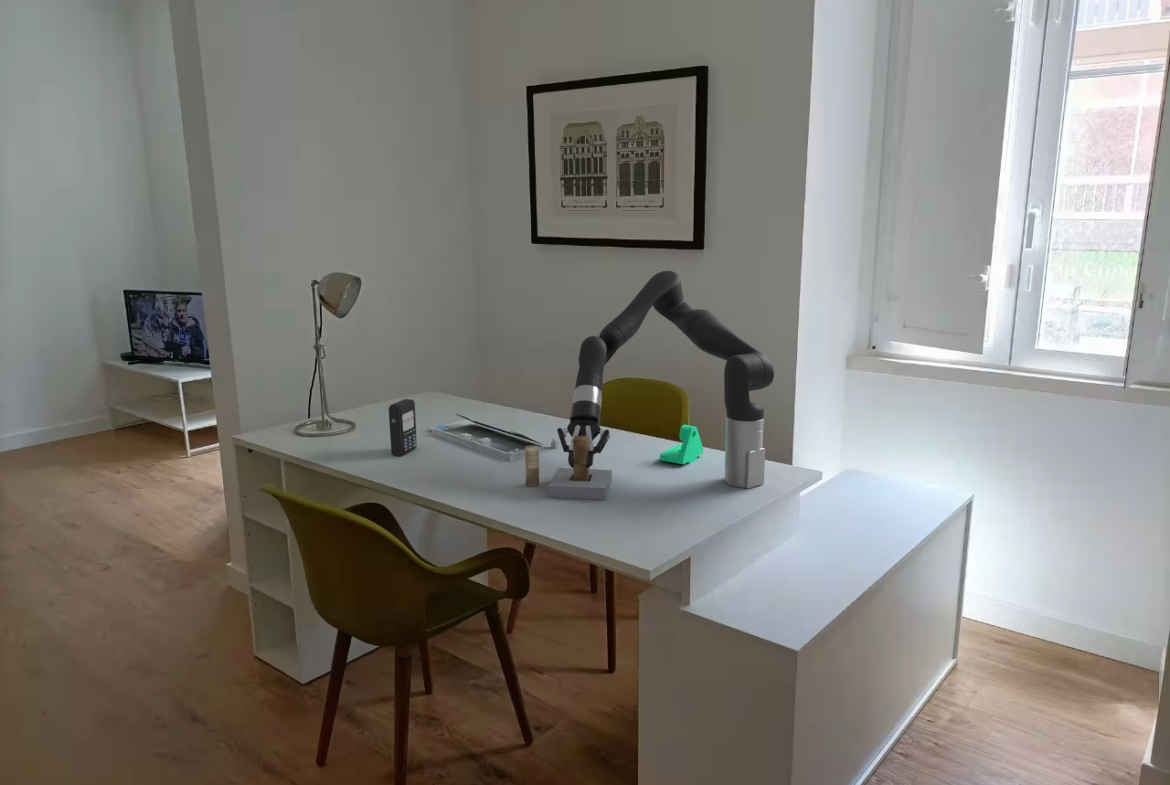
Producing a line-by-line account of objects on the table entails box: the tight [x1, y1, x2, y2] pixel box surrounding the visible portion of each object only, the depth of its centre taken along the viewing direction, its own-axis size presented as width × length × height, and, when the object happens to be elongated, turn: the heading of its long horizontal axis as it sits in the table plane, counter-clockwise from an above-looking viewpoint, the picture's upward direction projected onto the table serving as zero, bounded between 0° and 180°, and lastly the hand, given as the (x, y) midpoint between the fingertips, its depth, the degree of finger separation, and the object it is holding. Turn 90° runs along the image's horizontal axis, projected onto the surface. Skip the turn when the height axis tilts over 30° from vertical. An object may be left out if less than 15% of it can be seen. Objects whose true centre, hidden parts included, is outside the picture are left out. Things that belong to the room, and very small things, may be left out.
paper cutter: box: [427, 413, 559, 462], centre depth 252 cm, size 18×45×6 cm, turn 43°
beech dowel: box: [524, 444, 540, 488], centre depth 211 cm, size 3×3×10 cm
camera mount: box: [659, 424, 704, 465], centre depth 231 cm, size 12×8×10 cm, turn 146°
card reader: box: [388, 398, 418, 457], centre depth 238 cm, size 9×4×15 cm, turn 161°
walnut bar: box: [573, 436, 590, 481], centre depth 207 cm, size 3×3×12 cm
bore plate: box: [547, 467, 613, 501], centre depth 208 cm, size 14×14×3 cm
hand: (579, 466), depth 205 cm, fingers closed on walnut bar, 3 cm apart
